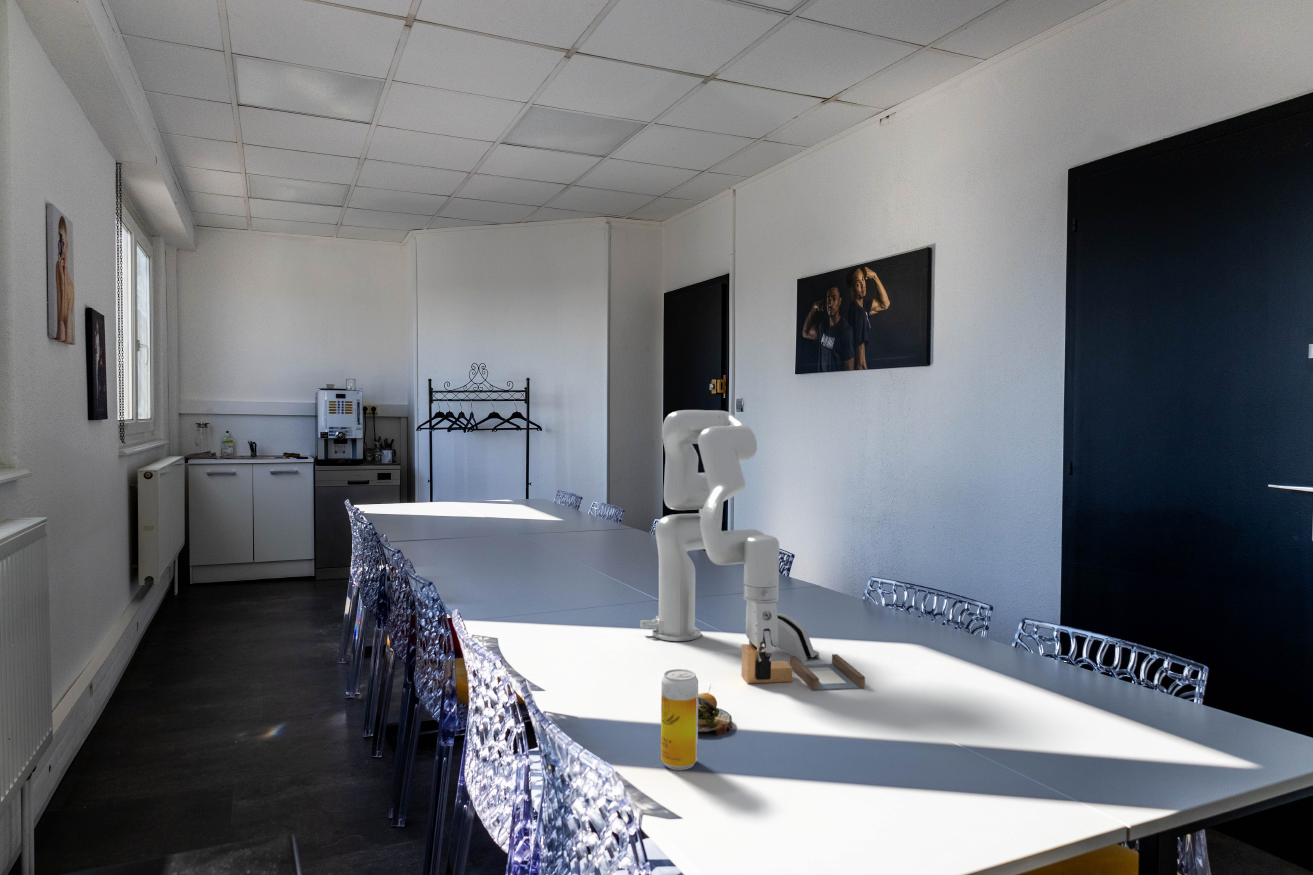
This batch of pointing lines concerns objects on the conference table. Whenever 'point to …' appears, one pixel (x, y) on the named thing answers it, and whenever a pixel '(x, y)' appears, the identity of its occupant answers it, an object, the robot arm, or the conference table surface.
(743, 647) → the bracket
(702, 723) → the burger
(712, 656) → the conference table surface
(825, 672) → the bay mat
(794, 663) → the bay walls
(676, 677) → the beer can
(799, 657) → the grey slotted curved block
